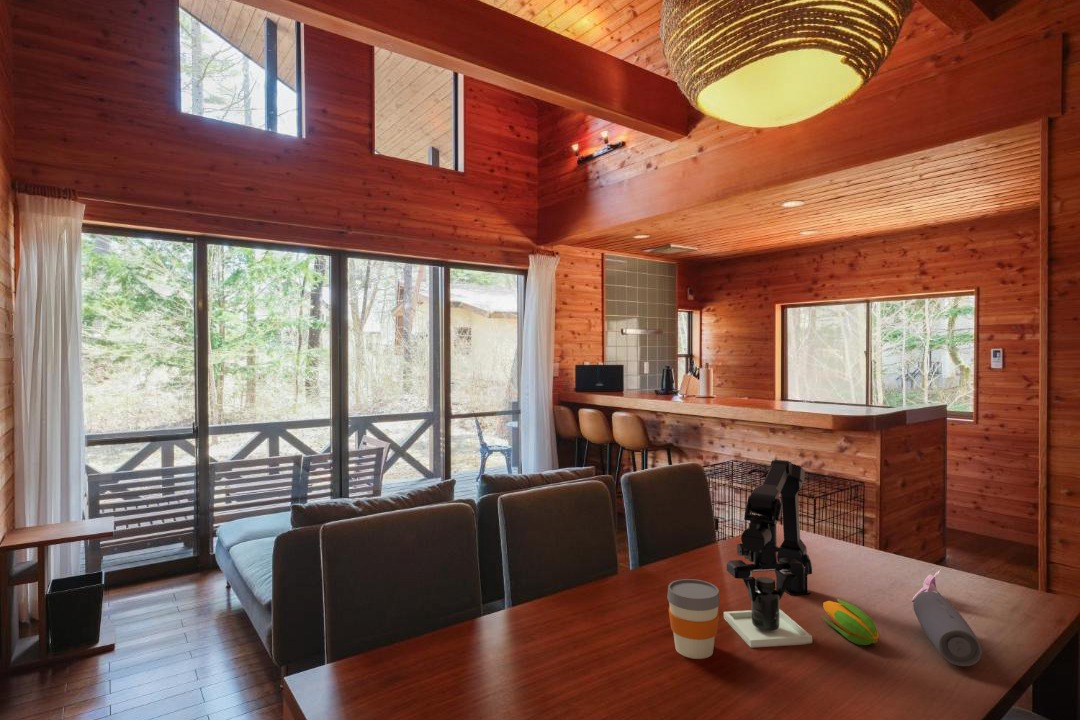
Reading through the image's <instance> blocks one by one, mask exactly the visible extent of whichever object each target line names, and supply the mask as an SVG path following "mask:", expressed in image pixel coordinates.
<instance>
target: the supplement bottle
mask: <svg viewBox="0 0 1080 720" xmlns="http://www.w3.org/2000/svg"><path fill="white" fill-rule="evenodd" d="M755 579H756V582H755V600H754V602H752V601H751V610H752V624H753V625H754V626H755V627H757V628H759V629H761V630H766V631H773V630H777V629H778V628H779V609H780V600H779V594H778V592H777V591H776V579H774V578H771V577H769V576H768V577H767V576H757V577H755Z"/></svg>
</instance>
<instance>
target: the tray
mask: <svg viewBox="0 0 1080 720" xmlns="http://www.w3.org/2000/svg"><path fill="white" fill-rule="evenodd" d="M723 619H724V620H725V621H726V622H727V624H728V625H729V626H730V627H731V628H732V629H733V630H734V631H735V633H737V634H738V635H739V637H740V638H741V639H742V640H743V641H744V642H745V643H746V644H747V646H748V647H749V648H752V649H753V648H765V647H766V648H767V647H768V648H769V647H783V646H784V647H785V646H797V645H811V644H812V645H813V636H812V634H810V633H808V632H807V630H805V629H804V628H803V627H802V626H800V625H799V624H798V623H797V621H795V620H793V618H791V617H790V616H789V615H788V614H786V613H785V612H784V611H783V610H782V609H781V608H779V628H778V629H777V630H773V631H766V630H761V629H759V628H757V627H755V626H754V625H753V624H752V609H751V610H734V611H732V610H731V611H723Z"/></svg>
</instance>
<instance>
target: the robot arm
mask: <svg viewBox="0 0 1080 720" xmlns="http://www.w3.org/2000/svg"><path fill="white" fill-rule="evenodd" d="M805 478H806V472H805V469H804V468H803V467H802V466H800V465H798V464H795V463H792V462H791V461H789V460H783V459H774V460H771V463H770V468H769V471H768V473H767V475H766V477H765V478H764V481H763V483H762V485H760V486H757V487H755V488H754V489H753V490H752V492H751V493H750V495H748V498H747V501H746V505H745V506H746V507H745V508H746V509H745V513H744V516H743V517H744V519H743V520H744V521H747V522H749V524H748V528H746V529H745V530H743V531H742V534H741V537H740V539H741V543H737V545H736V551H737V555H738V556H739V557H743V556H744V558H743V559H744V560H748V561H749V562H751V563H746V562H744V560H742V559H738V560H737V559H736V560H728V561H727V563H726V571H727V572H728V573H729V574H730V575H731V576H732V577H733V578H734V579H738V580H739V579H741V580H742V581H743V583H744V585H745V587H746V590H747V592H748V596H749V598H750V601H751V603H752V602H754V600H755V587H756V586H755V582H756V577H754V576H753V573H759V572H774V573H775V577H776V579H775V590H776V591H777V592H778V594H779V601H781V599H782V597H783V595H784V593H785V592H786V594H789V595H791V596H795V595H796V596H797V595H798V596H799V595H811V591H810V590H809V589H808V576H809V575H813V566H812V561H811V559H810V555H809V554H808V550H807V548H808V547H807V546H806V545H805V542H803V540H802V539H801V531H800V527H801V526H800V512H799V511H800V510H799V509H800V507H799V494H798V493H799V491H800V489H801V488H802V486H803V484H804V482H805ZM780 495H781V499H780ZM781 514H782V530H783V532H782V533H783V541H782V542H781V544H780V546H777V523H778V522H779V521H780V520H781Z"/></svg>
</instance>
